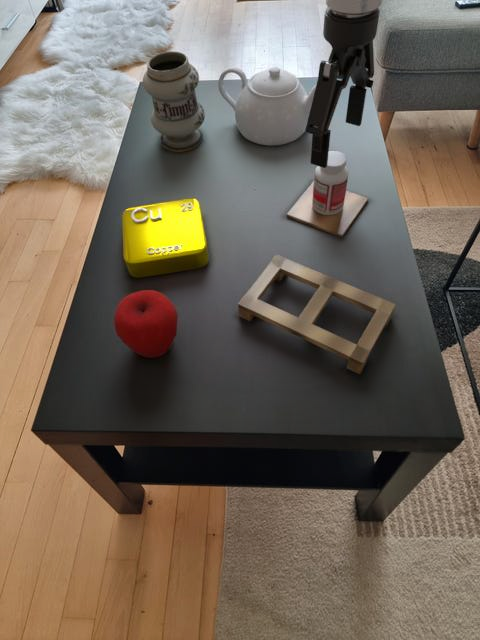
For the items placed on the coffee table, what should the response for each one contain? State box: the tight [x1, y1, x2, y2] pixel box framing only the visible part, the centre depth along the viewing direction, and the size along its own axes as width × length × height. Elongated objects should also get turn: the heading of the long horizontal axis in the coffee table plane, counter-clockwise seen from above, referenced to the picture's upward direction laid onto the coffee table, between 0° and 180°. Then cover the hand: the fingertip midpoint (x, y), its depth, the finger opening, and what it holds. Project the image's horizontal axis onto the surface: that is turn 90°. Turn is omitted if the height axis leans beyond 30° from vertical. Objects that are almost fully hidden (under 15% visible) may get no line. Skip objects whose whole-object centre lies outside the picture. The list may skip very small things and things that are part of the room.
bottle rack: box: [237, 254, 397, 375], centre depth 79 cm, size 22×13×4 cm, turn 58°
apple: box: [113, 289, 179, 358], centre depth 74 cm, size 10×10×11 cm
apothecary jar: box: [142, 50, 206, 153], centre depth 104 cm, size 12×12×18 cm
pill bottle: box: [312, 150, 349, 215], centre depth 90 cm, size 6×6×11 cm
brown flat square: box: [286, 180, 369, 238], centre depth 95 cm, size 12×12×1 cm
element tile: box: [121, 198, 210, 279], centre depth 90 cm, size 15×15×5 cm
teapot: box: [217, 66, 317, 146], centre depth 107 cm, size 19×18×14 cm
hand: (336, 143), depth 83 cm, fingers open, 13 cm apart
